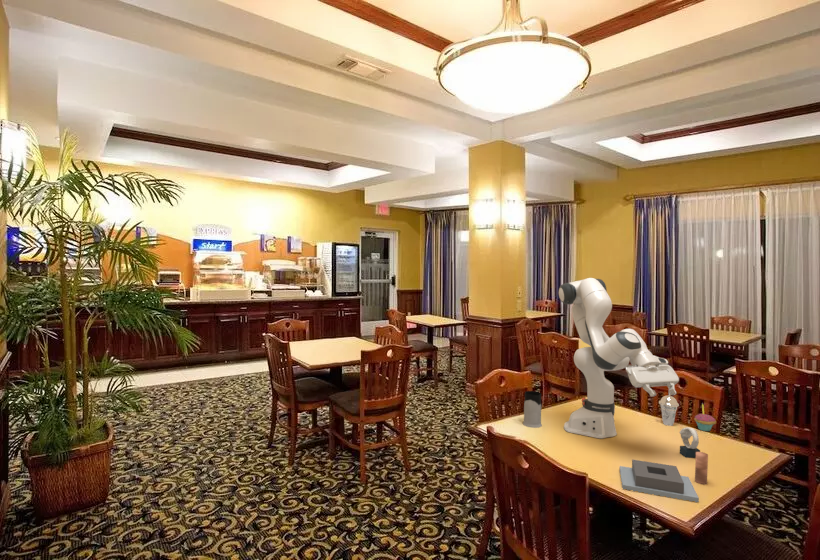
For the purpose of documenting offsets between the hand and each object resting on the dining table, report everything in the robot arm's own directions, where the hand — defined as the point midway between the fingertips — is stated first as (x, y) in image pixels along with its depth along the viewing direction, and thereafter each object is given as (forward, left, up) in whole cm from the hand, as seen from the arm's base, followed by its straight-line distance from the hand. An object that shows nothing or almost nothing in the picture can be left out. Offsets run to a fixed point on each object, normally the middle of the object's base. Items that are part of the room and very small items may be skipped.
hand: (664, 395), depth 174 cm
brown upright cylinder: (+10, -13, -26) cm, 31 cm away
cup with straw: (+10, +52, -26) cm, 59 cm away
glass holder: (-51, +26, -26) cm, 63 cm away
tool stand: (-5, -22, -26) cm, 34 cm away
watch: (+11, +12, -26) cm, 31 cm away
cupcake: (+24, +50, -26) cm, 62 cm away
